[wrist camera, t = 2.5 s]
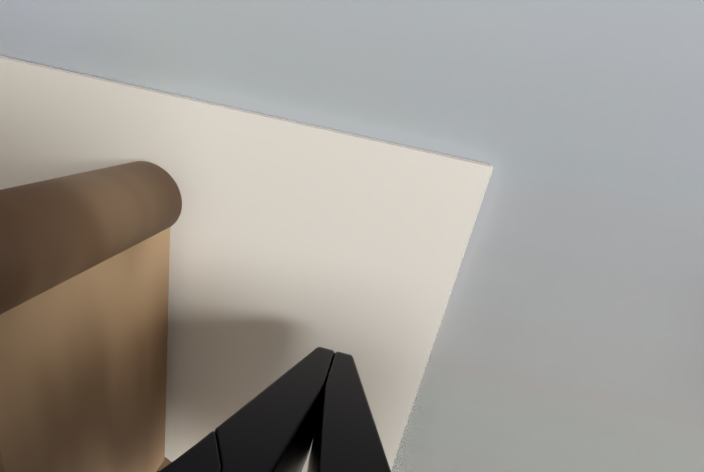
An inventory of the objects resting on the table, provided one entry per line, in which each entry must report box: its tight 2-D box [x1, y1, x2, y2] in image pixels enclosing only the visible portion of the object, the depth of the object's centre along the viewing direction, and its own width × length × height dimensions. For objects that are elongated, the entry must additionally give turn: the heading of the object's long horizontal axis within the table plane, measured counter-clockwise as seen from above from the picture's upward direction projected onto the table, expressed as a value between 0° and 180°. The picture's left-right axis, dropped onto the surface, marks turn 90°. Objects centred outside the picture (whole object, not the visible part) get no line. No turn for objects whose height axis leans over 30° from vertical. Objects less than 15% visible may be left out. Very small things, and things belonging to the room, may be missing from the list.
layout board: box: [0, 56, 493, 472], centre depth 14 cm, size 25×24×1 cm
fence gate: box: [0, 161, 182, 472], centre depth 8 cm, size 10×2×5 cm, turn 169°
